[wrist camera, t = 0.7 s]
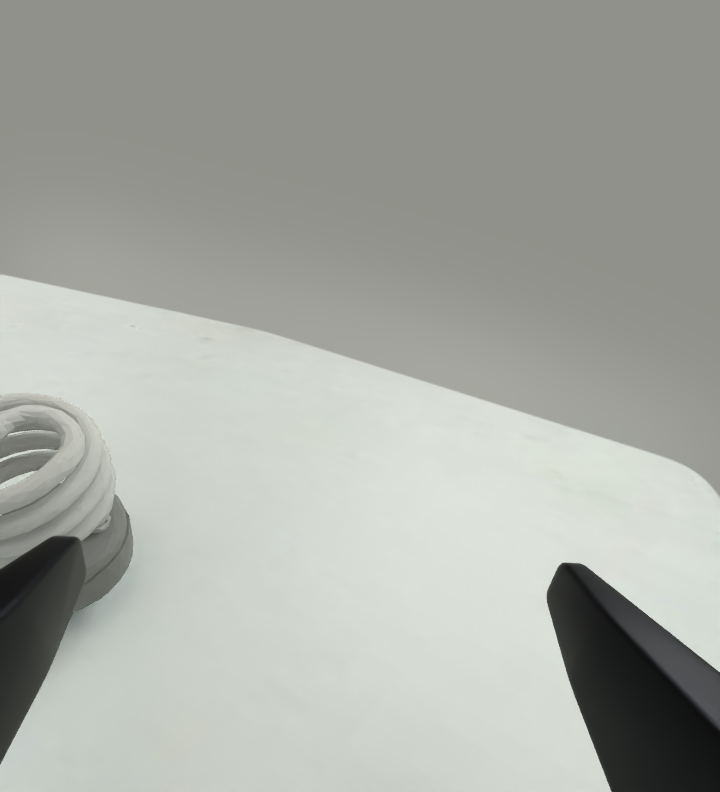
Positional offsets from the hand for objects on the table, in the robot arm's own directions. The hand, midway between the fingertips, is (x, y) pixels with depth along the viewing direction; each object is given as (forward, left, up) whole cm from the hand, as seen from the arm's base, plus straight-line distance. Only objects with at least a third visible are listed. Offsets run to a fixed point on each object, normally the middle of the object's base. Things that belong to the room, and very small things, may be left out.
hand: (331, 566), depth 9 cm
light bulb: (+4, +12, -16) cm, 21 cm away
